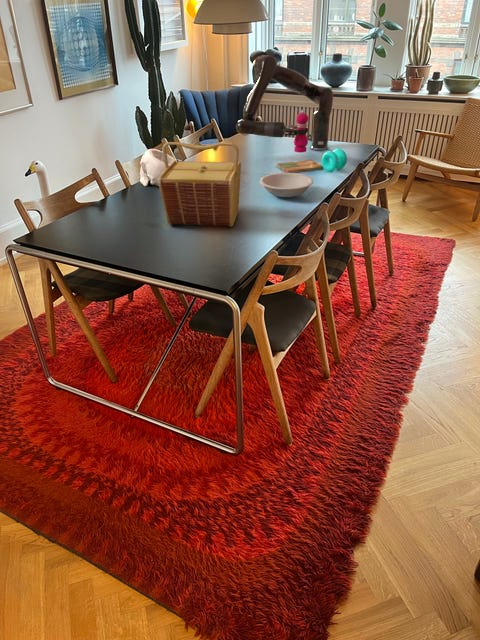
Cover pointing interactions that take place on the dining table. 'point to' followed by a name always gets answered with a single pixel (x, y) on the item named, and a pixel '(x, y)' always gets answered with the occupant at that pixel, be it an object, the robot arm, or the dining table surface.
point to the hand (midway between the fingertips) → (306, 131)
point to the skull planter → (153, 166)
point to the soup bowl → (286, 184)
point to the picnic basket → (200, 189)
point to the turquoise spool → (334, 160)
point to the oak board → (299, 166)
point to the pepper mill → (301, 139)
